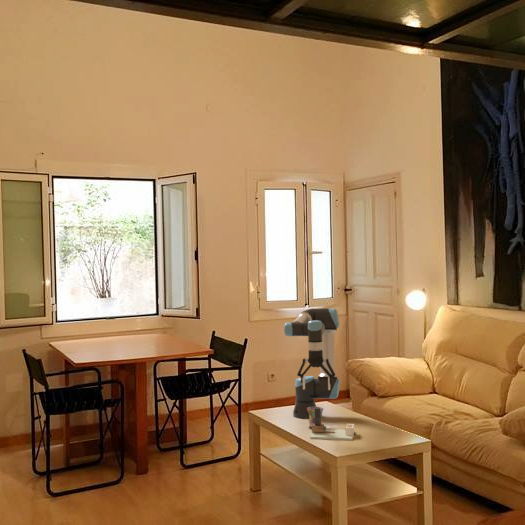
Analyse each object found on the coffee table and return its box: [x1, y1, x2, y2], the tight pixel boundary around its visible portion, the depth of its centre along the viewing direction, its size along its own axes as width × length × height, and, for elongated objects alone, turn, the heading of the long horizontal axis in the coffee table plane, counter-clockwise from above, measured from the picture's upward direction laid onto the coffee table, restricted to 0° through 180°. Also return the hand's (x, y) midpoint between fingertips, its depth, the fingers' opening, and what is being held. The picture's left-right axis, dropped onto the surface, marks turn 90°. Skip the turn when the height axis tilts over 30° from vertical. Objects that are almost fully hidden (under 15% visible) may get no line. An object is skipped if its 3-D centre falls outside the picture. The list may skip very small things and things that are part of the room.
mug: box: [307, 406, 324, 429], centre depth 348 cm, size 12×9×11 cm
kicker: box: [311, 408, 327, 432], centre depth 332 cm, size 5×7×12 cm
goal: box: [344, 423, 355, 437], centre depth 328 cm, size 8×4×4 cm, turn 167°
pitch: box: [309, 428, 356, 441], centre depth 329 cm, size 16×22×2 cm
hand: (316, 389), depth 330 cm, fingers open, 13 cm apart
